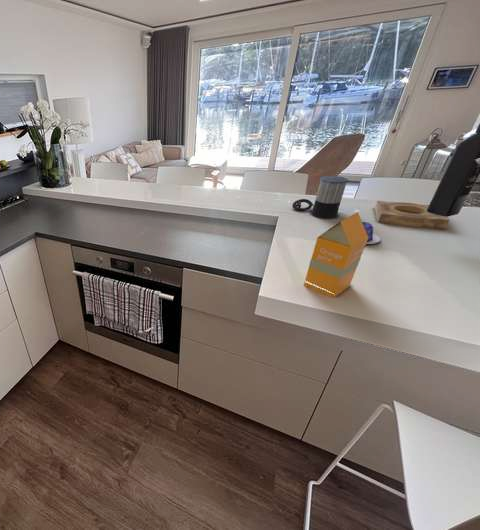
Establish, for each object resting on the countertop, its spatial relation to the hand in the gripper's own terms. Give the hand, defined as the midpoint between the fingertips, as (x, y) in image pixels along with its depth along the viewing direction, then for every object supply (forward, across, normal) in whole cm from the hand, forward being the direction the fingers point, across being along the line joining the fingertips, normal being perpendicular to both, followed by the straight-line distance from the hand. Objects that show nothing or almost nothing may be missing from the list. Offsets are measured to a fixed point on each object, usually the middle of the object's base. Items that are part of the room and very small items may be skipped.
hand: (466, 159), depth 80 cm
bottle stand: (+15, -22, +21) cm, 34 cm away
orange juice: (+44, +32, -7) cm, 54 cm away
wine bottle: (+11, 0, +12) cm, 16 cm away
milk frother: (+36, -26, 0) cm, 45 cm away
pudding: (+31, -1, +5) cm, 32 cm away
